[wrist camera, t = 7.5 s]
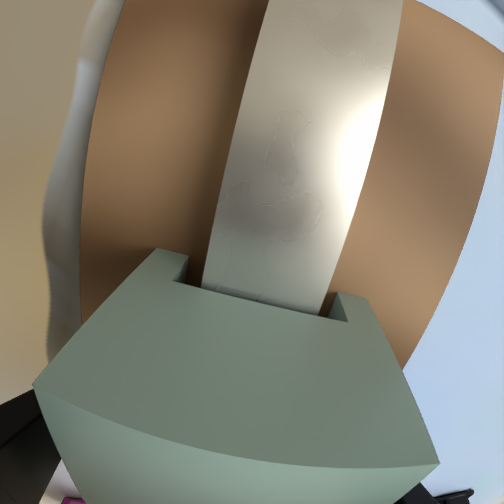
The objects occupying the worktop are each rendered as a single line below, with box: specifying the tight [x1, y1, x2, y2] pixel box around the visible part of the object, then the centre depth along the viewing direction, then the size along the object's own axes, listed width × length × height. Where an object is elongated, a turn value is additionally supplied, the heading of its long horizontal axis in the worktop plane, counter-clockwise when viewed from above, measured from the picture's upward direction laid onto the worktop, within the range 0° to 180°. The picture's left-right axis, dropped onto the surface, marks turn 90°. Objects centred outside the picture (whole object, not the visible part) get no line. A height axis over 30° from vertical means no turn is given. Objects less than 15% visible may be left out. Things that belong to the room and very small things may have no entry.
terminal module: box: [32, 248, 440, 504], centre depth 8 cm, size 8×6×6 cm
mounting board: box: [80, 0, 504, 370], centre depth 10 cm, size 22×12×1 cm, turn 167°
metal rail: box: [201, 0, 403, 316], centre depth 9 cm, size 20×3×2 cm, turn 167°
